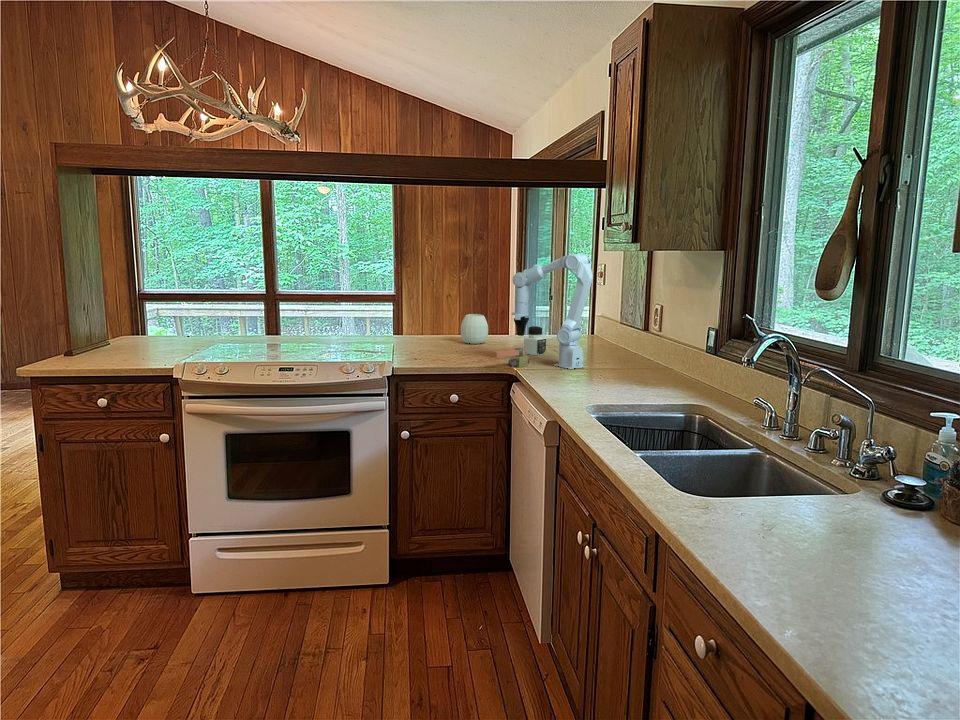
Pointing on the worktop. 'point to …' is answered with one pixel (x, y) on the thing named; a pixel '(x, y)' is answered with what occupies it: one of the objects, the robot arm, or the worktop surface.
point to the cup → (474, 329)
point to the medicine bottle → (535, 341)
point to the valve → (518, 361)
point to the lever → (509, 352)
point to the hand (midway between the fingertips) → (520, 335)
